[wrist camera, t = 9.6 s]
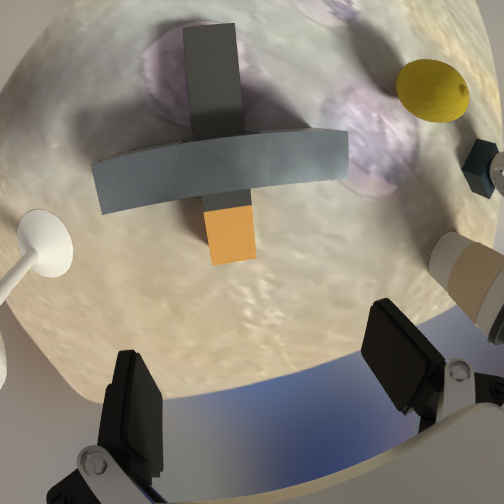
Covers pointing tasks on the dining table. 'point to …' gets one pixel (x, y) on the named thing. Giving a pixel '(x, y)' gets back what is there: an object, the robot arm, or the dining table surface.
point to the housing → (220, 166)
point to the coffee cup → (472, 281)
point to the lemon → (432, 90)
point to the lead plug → (219, 133)
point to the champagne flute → (36, 257)
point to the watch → (485, 169)
